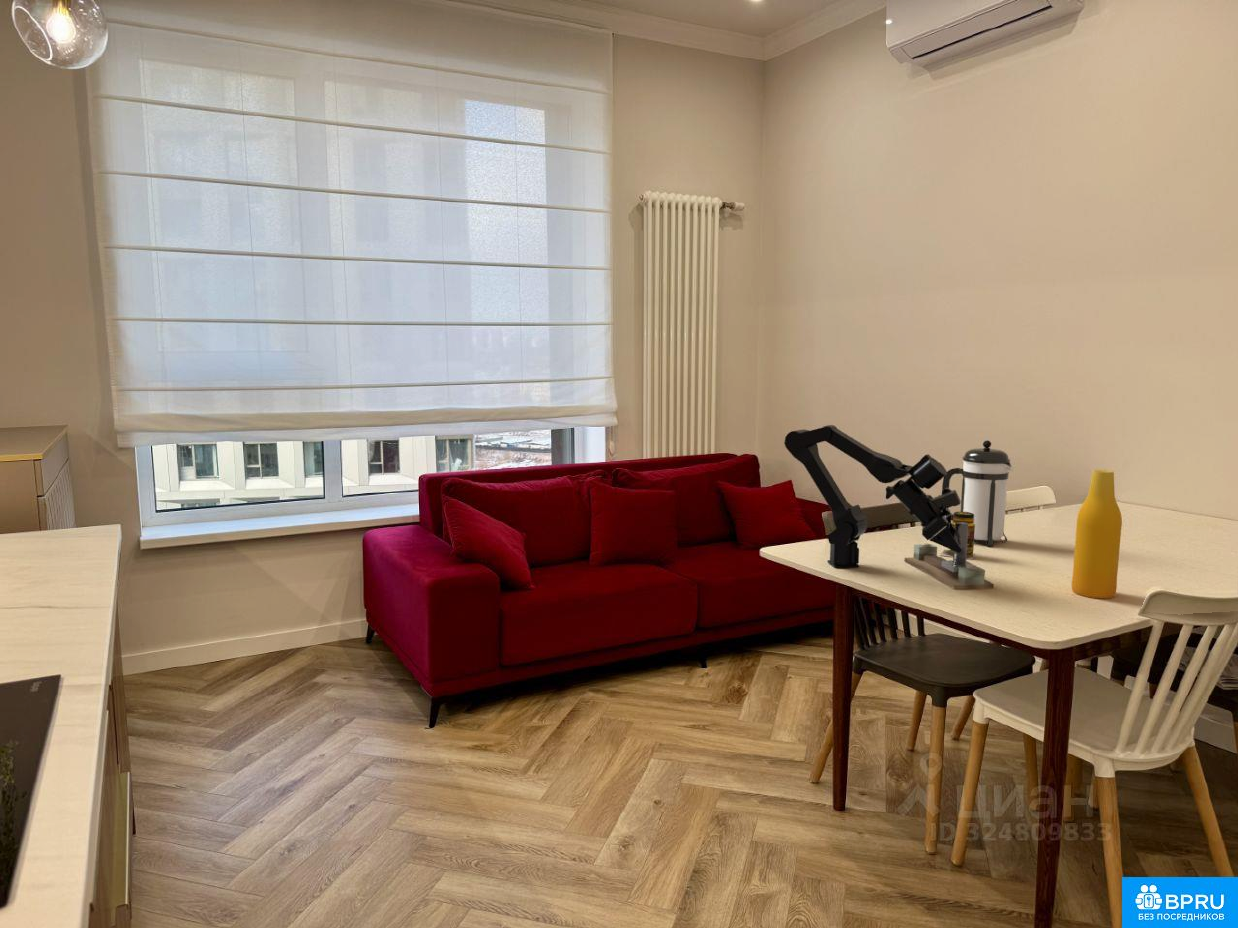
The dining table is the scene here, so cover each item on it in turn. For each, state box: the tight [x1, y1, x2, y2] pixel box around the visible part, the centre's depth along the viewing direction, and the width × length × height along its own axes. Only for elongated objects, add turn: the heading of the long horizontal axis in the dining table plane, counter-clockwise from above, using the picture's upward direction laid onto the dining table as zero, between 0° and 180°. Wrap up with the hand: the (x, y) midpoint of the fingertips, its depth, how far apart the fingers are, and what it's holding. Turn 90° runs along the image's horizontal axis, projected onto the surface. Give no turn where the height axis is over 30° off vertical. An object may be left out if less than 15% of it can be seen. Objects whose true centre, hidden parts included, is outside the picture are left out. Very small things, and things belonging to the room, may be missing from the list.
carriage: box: [942, 522, 978, 572], centre depth 215 cm, size 6×6×11 cm
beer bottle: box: [1071, 469, 1123, 600], centre depth 204 cm, size 9×9×29 cm
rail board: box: [903, 542, 995, 590], centre depth 222 cm, size 10×27×5 cm, turn 7°
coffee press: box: [941, 440, 1014, 548], centre depth 258 cm, size 17×16×30 cm
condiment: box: [940, 510, 977, 560], centre depth 242 cm, size 7×8×12 cm
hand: (960, 547), depth 215 cm, fingers open, 9 cm apart
